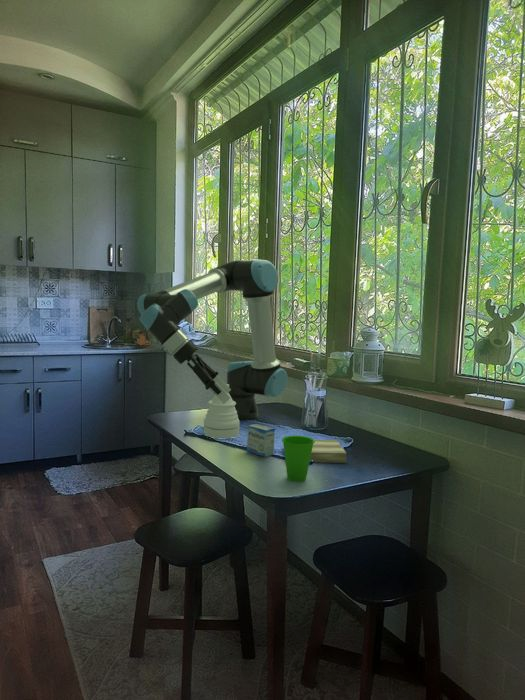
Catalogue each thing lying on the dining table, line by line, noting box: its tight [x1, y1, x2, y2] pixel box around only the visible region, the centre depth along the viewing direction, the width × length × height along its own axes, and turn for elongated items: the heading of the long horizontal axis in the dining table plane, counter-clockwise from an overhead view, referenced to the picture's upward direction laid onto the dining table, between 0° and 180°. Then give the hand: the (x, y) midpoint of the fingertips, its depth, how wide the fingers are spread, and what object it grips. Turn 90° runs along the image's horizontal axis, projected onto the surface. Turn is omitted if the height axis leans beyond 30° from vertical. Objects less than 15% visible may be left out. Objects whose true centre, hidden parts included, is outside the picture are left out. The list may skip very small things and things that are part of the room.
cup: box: [281, 434, 315, 483], centre depth 135 cm, size 9×9×11 cm
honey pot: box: [203, 383, 241, 438], centre depth 176 cm, size 13×13×18 cm
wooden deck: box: [282, 439, 347, 464], centre depth 157 cm, size 14×18×3 cm
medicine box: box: [246, 423, 276, 458], centre depth 156 cm, size 8×4×9 cm, turn 50°
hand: (227, 396), depth 154 cm, fingers open, 13 cm apart
